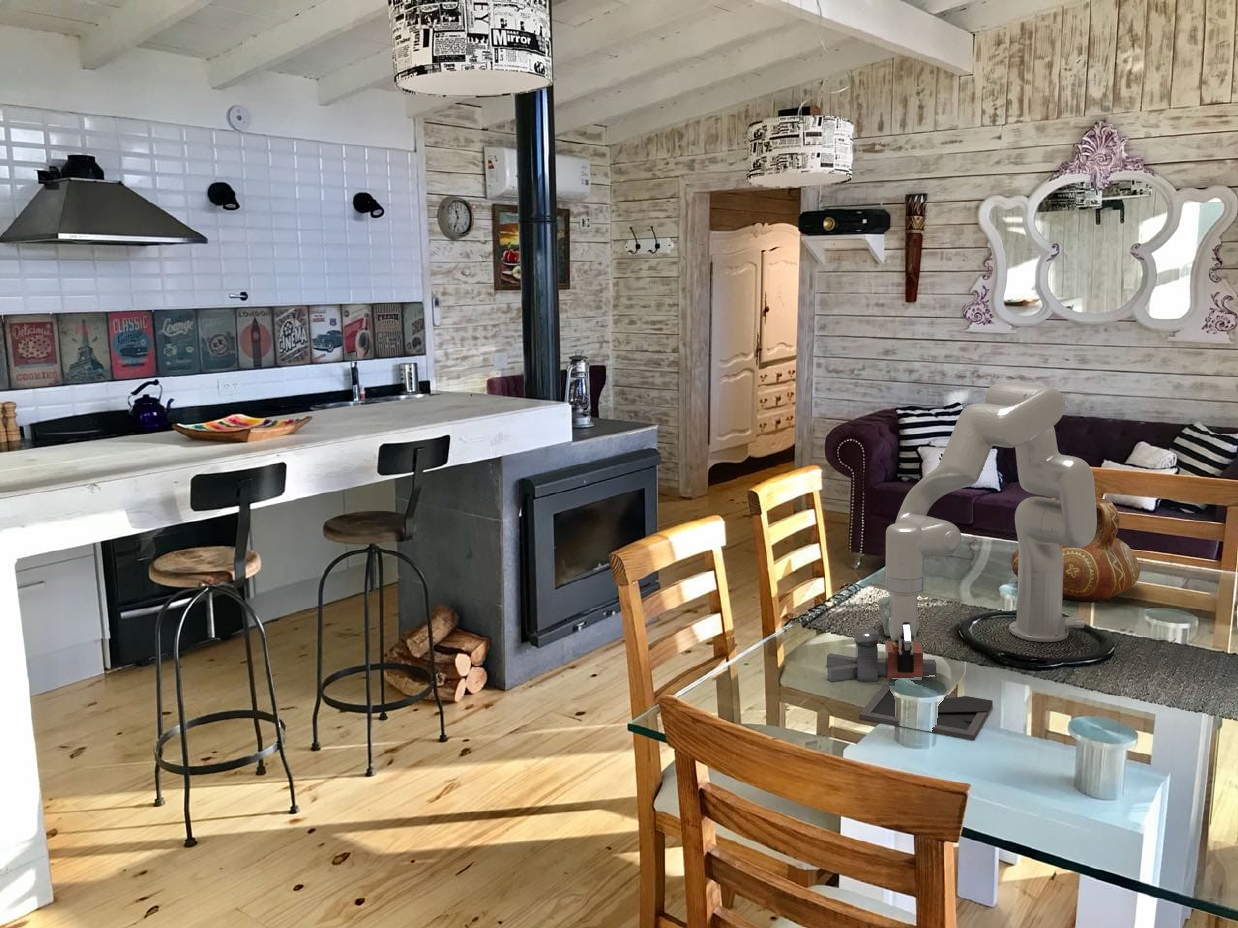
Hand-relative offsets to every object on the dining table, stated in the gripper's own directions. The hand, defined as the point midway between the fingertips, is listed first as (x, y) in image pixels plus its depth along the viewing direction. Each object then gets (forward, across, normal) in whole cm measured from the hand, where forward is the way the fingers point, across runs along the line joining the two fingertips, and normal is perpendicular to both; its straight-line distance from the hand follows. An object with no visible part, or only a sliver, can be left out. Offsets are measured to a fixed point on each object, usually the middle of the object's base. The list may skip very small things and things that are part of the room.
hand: (903, 663), depth 217 cm
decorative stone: (+3, -27, +2) cm, 27 cm away
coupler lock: (+2, 0, 0) cm, 2 cm away
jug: (+3, -60, +48) cm, 77 cm away
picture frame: (+3, +19, +2) cm, 20 cm away
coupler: (+2, 0, -5) cm, 5 cm away
